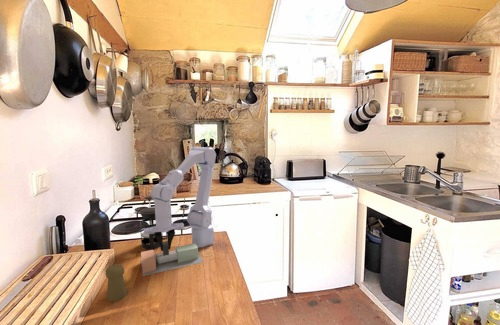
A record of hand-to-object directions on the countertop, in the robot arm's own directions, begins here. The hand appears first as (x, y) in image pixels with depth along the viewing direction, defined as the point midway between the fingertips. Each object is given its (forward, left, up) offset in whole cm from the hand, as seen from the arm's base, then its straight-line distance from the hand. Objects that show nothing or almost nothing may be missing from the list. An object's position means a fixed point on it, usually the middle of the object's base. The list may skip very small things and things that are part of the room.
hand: (165, 249), depth 104 cm
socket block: (+6, 0, -5) cm, 8 cm away
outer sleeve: (-8, 0, -5) cm, 10 cm away
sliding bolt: (-3, 0, -5) cm, 6 cm away
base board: (-2, 0, -6) cm, 7 cm away
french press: (+3, -18, -7) cm, 19 cm away
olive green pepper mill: (+17, +14, -7) cm, 23 cm away
